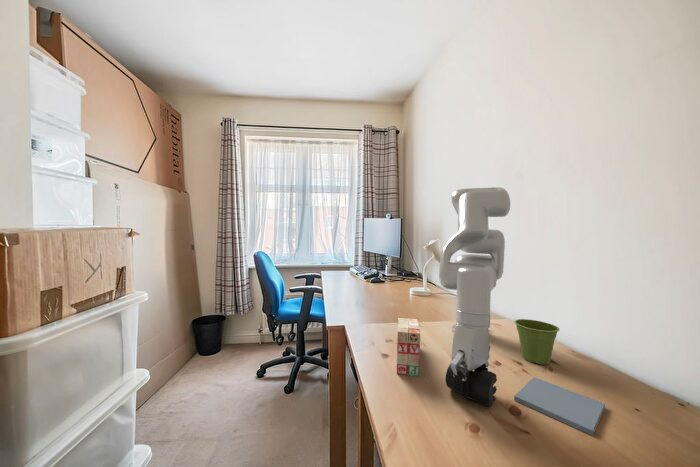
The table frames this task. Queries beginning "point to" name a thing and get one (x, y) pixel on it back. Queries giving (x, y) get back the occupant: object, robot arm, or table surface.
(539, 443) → the table surface
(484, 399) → the end cap
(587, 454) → the table surface
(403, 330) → the stack of blocks
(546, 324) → the plant pot
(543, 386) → the slate mat
